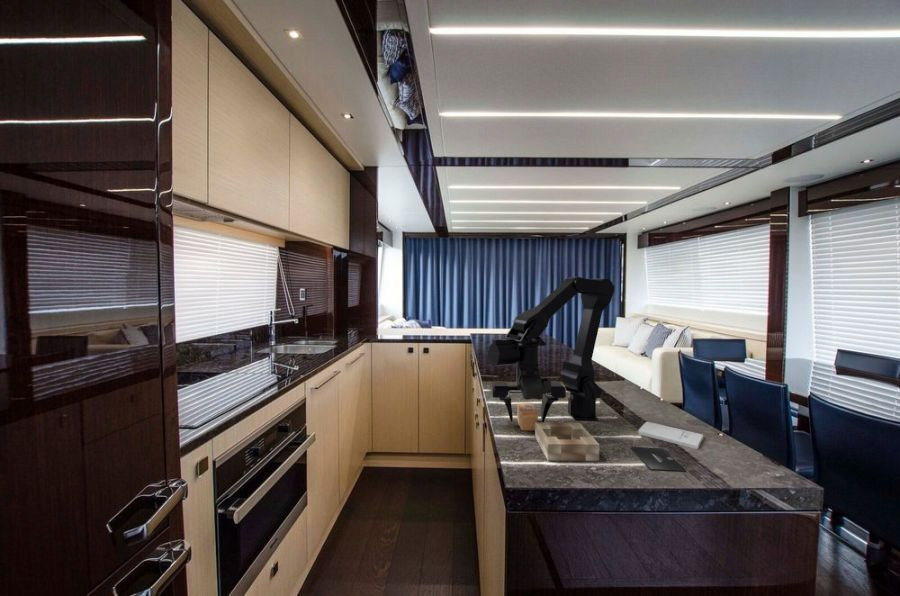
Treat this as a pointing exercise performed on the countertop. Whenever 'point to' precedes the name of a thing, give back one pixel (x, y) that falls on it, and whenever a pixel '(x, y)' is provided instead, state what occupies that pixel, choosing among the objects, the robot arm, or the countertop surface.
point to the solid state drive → (657, 459)
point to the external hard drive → (671, 435)
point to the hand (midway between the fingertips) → (527, 421)
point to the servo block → (527, 416)
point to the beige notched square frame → (566, 442)
